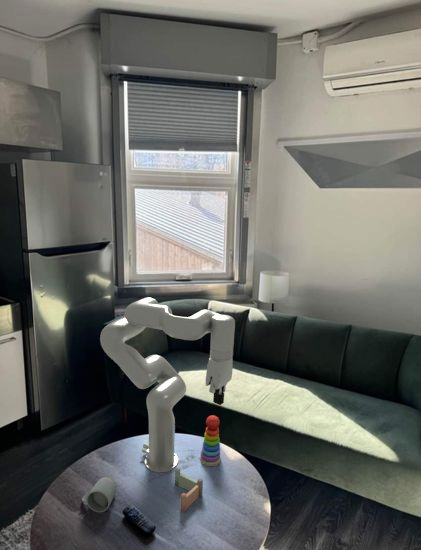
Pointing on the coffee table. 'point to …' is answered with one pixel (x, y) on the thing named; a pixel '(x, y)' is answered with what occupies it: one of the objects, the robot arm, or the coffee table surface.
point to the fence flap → (191, 495)
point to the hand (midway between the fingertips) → (218, 402)
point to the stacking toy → (211, 443)
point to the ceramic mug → (101, 495)
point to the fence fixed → (184, 480)
